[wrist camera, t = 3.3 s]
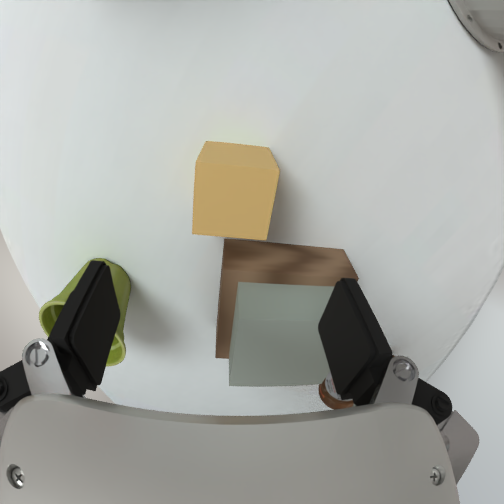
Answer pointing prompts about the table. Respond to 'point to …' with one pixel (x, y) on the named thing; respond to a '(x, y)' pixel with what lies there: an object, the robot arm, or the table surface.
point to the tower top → (278, 335)
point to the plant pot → (122, 290)
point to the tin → (332, 394)
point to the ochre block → (234, 190)
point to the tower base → (272, 274)
